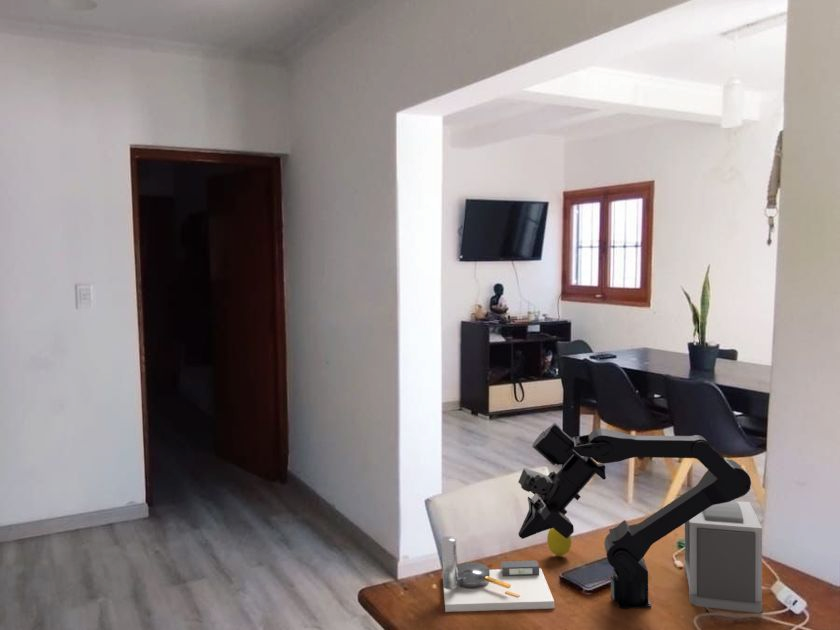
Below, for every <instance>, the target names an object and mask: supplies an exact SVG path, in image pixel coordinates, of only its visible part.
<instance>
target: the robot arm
mask: <svg viewBox="0 0 840 630" xmlns="http://www.w3.org/2000/svg"><path fill="white" fill-rule="evenodd" d="M531 447H532V448H533V449H534V450H535V451H537V452H538V454H540V455H541V457H543V458H544V459H545V460H547V461H548V462H549V463H550V464H552V466H554V465H557V466H559V465H560V466H561V465H563V464H564V465H563V466H562V467H561V468H560V469H559V470H558V472H556V471H553V472H552V471H551V472H550V473H549V474H547V475H546V474H543V473H541V472H538V471H535V470H532V469H529V468H525V467H524V468H523V470H522V472H521V474H520V477H519V479H518V481H517V482H518V484H519V485H520V486H521V489H522V490H523V491H525V492H528V493H530V492H531V493H532V494H533V496H532V497H530V496H527V502H528V512H527V513H526V515H525V518H524V521H523V523H522V525H521V527H520V529H519V531H518V534H517V535H518V537H519V538H521V539H526V538H528V537H531V536H533V535H536V534H539V533H541V532H544V531H549V530H550V529H551V528H554V529H555V530H556V531H557V532H559V533H560V534H561V535H562V536H564V537H565V538H566V539H568V538H569V537H570V536H572V535H573V533H574V531H575V529H574V524H573V523H572V521H571V520H570V519H569V517H568V516H566V514H567V513H568V510H567V509H566V508H567V507H568V505H569V504H570V503H572V501H573V500H576V501H579V499H580V498H581V495H580V493H581V491H582V490H583V489H584V487H585V486H586V485H587V484H588V483H589V482H590V481H591V480H592V478H594V476H595V475H598V476H599V477H600V478H601V479H602V480H606V479H607V477H606V465H605V464H610V463H619V462H623V461H625V460H629V459H632V458H633V459H634V458H654V459H655V458H660V459H661V458H663V459H664V458H668V459H673V458H674V459H697V460H698V461H699V462H700V463H701V465H702V466H704V467H705V468H706V470H707V471H705V473H704V474H703V476H702V478H700V480H699V481H698V483H697V484H696V485H695V486H693V487H692V488H691V489H689V490H688V491H686V492H684V493H683V494H682V495H680V496H678V497H677V498H675V499H674V500H673V501H671V502H669V503H668V504H666V505H665V506H663V507H662V508H660V509H659V510H658V511H656V512H653V513H652V514H651V515H650V516H648V517H646V518H645V519H644V520H642V521H640V522H638V523H637V524H636V523H635V524H631V525H629V523H628V521H627V520H625V519H624V520H622V522H620V523H619V524H618V525H617V526H616V527H614V528H609V529H608V532H609V533H608V534H607V535H606V537H605V539H604V543H603V544H604V549H605V552H606V553H605V555H606V559H607V561H608V564H609V565H610V566H611V567H612V576H610V596H611V598H612V599H613V601H614V602H615V604H616V606H617V607H618V608H620V609H647V608H652V604H651V602H650V601H649V570H648V567H647V564H646V561H645V559H644V557H645V555H646V554H647V552H648V551H649V550H650V548H651V547H652V546H653V544H655V543H656V542H659V540H661V539H663V538H664V537H665V536H667V535H669V534H670V533H672V532H673V531H676V530H677V529H678V528H679V527H680V528H681V526H683V525H685V523H686V522H687V521H689V520H690V519H692V518H693V517H695V516H696V515H698V514H700V513H701V512H703V511H704V510H706V509H707V508H709V507H710V506H712V505H716V504H721V503H727V502H730V501H736V500H737V499H739V498H741V497H744V496H745V495H747V494H748V493H749V492H750V490H751V487H752V486H751V485H752V480H751V477H750V476H749V475H750V474H748V473H747V471H746V470H745V469H744V468H743V467H742V466H741V465H740V464H739V463H738V462H737V461H735V460H732V459H728V458H725V457H724V456H723V455H722V454H721V453H720V452H718V451H717V450H716V449H715V448H714V447H713V446H712V445H711V444H710V443H709V442H708V440H706V439H705V437H703V436H702V435H699V434H694V435H637V434H636V435H634V434H628V433H624V432H622V431H618V430H613V429H607V428H602V427H601V428H595V429H593V430H592V431H591V432H590V433H589V434H584V435H578V436H573V437H571V436H569V435H568V434H567V433H566V432H565V431H564V430H563V429H562V428H561V427H560V426H559V425H558V424H557V423H556V422H553V423H552V424H551V426H549V427H547V428H546V429H545V430H543V431H542V432H541V433H540V434H539V435H538V437H537V438H536V439H535V441H534V442H533V444H532V446H531Z"/></svg>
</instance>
